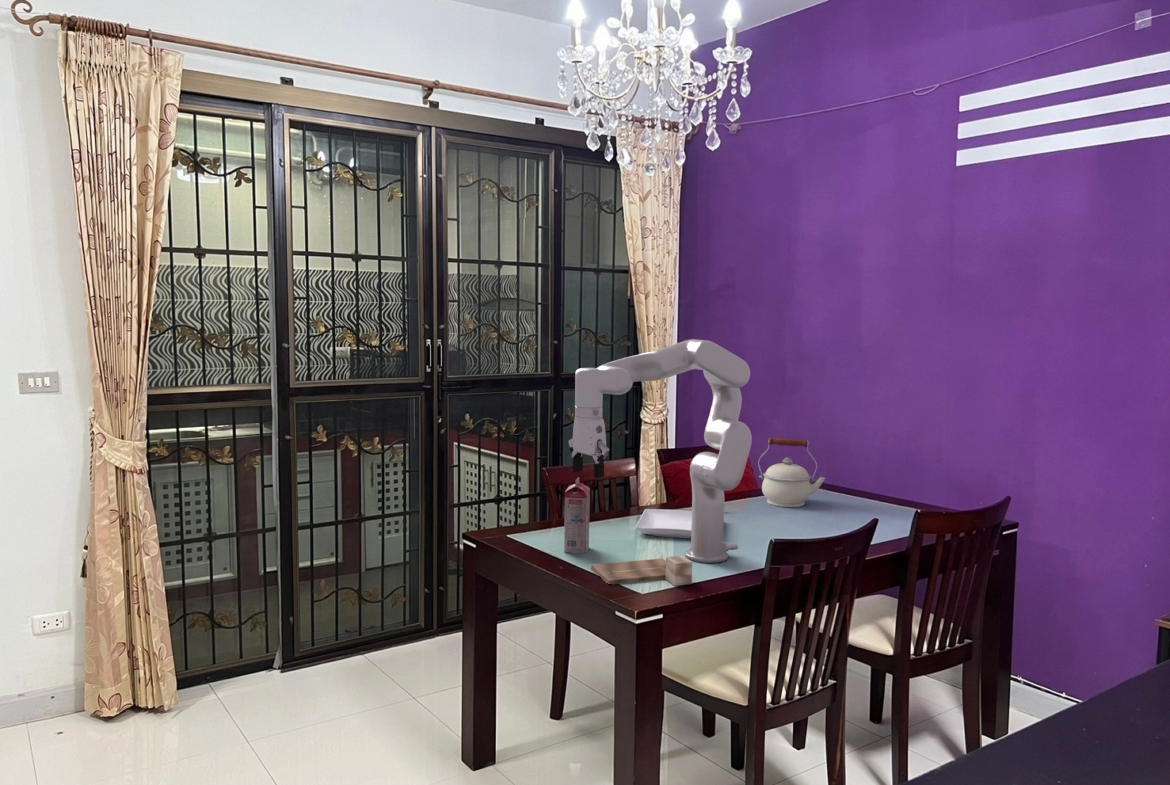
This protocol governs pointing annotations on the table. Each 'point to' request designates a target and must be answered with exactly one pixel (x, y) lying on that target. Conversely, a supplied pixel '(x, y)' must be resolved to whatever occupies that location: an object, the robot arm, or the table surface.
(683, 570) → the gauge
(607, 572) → the board
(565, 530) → the juice carton
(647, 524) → the square plate
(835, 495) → the table surface
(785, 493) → the kettle
